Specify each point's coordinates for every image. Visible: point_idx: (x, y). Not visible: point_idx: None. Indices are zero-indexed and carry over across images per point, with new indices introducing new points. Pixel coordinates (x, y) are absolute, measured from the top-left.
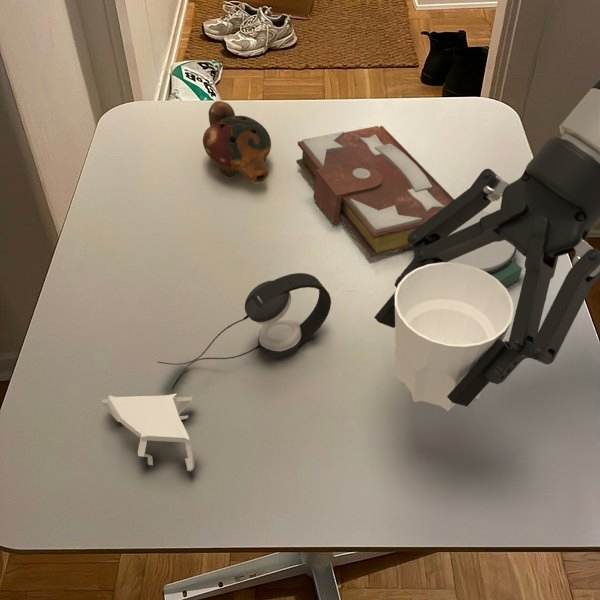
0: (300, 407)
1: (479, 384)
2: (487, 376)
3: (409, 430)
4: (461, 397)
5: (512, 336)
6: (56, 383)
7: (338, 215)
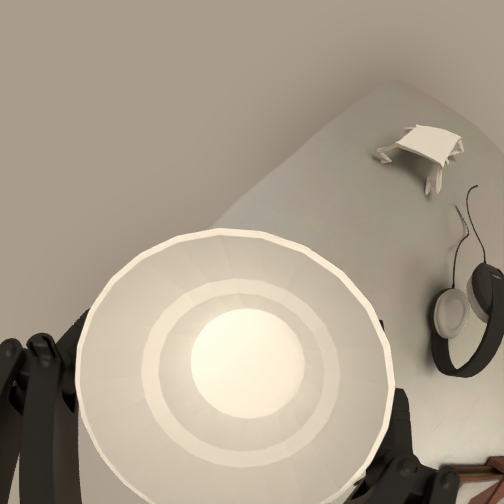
0: (376, 275)
1: None
2: None
3: None
4: None
5: (53, 371)
6: (487, 157)
7: (493, 465)
